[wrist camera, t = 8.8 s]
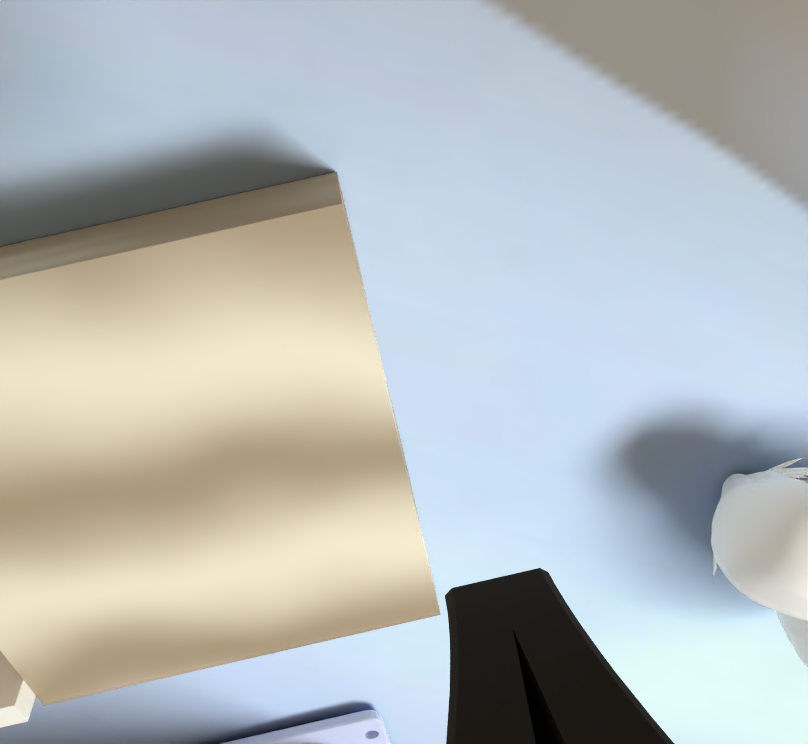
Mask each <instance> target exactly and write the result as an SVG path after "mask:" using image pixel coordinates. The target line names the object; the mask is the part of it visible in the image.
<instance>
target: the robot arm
mask: <svg viewBox="0 0 808 744" xmlns="http://www.w3.org/2000/svg"><path fill="white" fill-rule="evenodd" d="M445 599H446V605H447V611H448V620H449V632H450V697H449V712H448V727H447V742H446V744H674V743H673V742H672V741H671V739H670V738H669V737H668V736H667V735H666V733H665V732H664V731H663V730H662V729H661V728H660V726H659V725H658V724H657V723H656V722H655V721H654V719H653V718H652V717H651V716H650V715H649V713H648V712H647V711H646V710H645V708H644V707H643V706H642V705H641V703H640V702H639V701H638V700H637V698H636V697H635V696H634V695H633V693H632V692H631V691H630V690H629V688H628V687H627V686H626V685H625V684H624V682H623V681H622V680H621V679H620V677H619V676H618V675H617V674H616V672H615V671H614V670H613V668H612V667H611V666H610V664H609V663H608V662H607V660H606V659H605V658H604V656H603V655H602V654H601V652H600V651H599V650H598V648H597V647H596V645H595V644H594V643H593V641H592V640H591V639H590V637H589V636H588V634H587V633H586V632H585V630H584V629H583V627H582V626H581V624H580V623H579V622H578V620H577V619H576V617H575V616H574V614H573V613H572V611H571V610H570V608H569V606H568V605H567V603H566V602H565V600H564V599H563V597H562V595H561V594H560V592H559V590H558V589H557V587H556V585H555V584H554V582H553V580H552V578H551V576H550V575H549V573H548V572H547V571H545V570H543V569H541V568H538V569H534V570H529V571H525V572H521V573H516V574H512V575H507V576H503V577H499V578H494V579H490V580H486V581H481V582H477V583H472V584H468V585H464V586H459V587H455V588H452V589H451V590H450V591H449V592H448V593H447V594H446V595H445ZM221 744H391V741H390V739H389V736H388V733H387V730H386V727H385V724H384V721H383V718H382V716H381V714H380V713H379V712H377V711H375V710H364V711H360V712H356V713H351V714H347V715H343V716H338V717H334V718H330V719H325V720H321V721H317V722H312V723H308V724H303V725H299V726H295V727H290V728H286V729H282V730H277V731H273V732H269V733H264V734H260V735H256V736H251V737H247V738H243V739H238V740H234V741H230V742H225V743H221Z"/></svg>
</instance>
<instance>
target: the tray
mask: <svg viewBox="0 0 808 744" xmlns="http://www.w3.org/2000/svg"><path fill="white" fill-rule="evenodd" d="M35 697H36V695H35V694H34V693H33V692H32V690H31V689H30V688H29V686H28V685H27V684H26V683H25V681H24V680H23V679H22V677H21V676H20V675H19V674H18V672H17V671H16V670H15V669H14V667H13V666H12V665H11V663H10V662H9V661H8V660H7V658H6V657H5V656H4V655H3V653H2V652H1V651H0V728H1V727H5V726H10V725H14V724H18V723H23V722H27V721H28V720H29V717H30V713H31V710H32V707H33V704H34V700H35Z"/></svg>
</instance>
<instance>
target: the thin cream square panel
mask: <svg viewBox="0 0 808 744" xmlns="http://www.w3.org/2000/svg"><path fill="white" fill-rule="evenodd" d="M437 615H440V611H439V606H438V601H437V596H436V592H435V587H434V582H433V577H432V573H431V568H430V563H429V559H428V555H427V551H426V546H425V542H424V538H423V534H422V530H421V525H420V521H419V517H418V513H417V508H416V504H415V500H414V496H413V492H412V487H411V483H410V479H409V475H408V471H407V466H406V462H405V458H404V454H403V449H402V445H401V441H400V437H399V433H398V428H397V424H396V420H395V416H394V412H393V407H392V403H391V399H390V395H389V390H388V386H387V382H386V378H385V374H384V369H383V365H382V361H381V357H380V353H379V348H378V344H377V340H376V336H375V331H374V327H373V323H372V319H371V315H370V310H369V306H368V302H367V298H366V293H365V289H364V285H363V281H362V277H361V272H360V268H359V264H358V260H357V256H356V251H355V247H354V243H353V239H352V234H351V230H350V226H349V222H348V218H347V213H346V209H345V205H344V201H343V197H342V192H341V188H340V184H339V180H338V175H337V172H334V173H329V174H325V175H320V176H316V177H311V178H307V179H302V180H298V181H293V182H289V183H284V184H280V185H275V186H271V187H266V188H262V189H257V190H253V191H248V192H244V193H240V194H235V195H231V196H226V197H222V198H217V199H213V200H208V201H204V202H199V203H195V204H190V205H186V206H181V207H177V208H172V209H168V210H163V211H159V212H154V213H150V214H145V215H141V216H136V217H132V218H127V219H123V220H118V221H114V222H110V223H105V224H101V225H96V226H92V227H87V228H83V229H78V230H74V231H69V232H65V233H60V234H56V235H51V236H47V237H42V238H38V239H33V240H29V241H24V242H20V243H15V244H11V245H6V246H2V247H0V651H1V652H2V653H3V655H4V656H5V657H6V658H7V660H8V661H9V662H10V663H11V665H12V666H13V667H14V669H15V670H16V671H17V672H18V674H19V675H20V676H21V677H22V679H23V680H24V681H25V683H26V684H27V685H28V686H29V688H30V689H31V690H32V692H33V693H34V694H35V695H36V697H37V698H38V699H39V700H40V702H41V703H42V704H43V706H44V705H48V704H53V703H57V702H61V701H66V700H70V699H74V698H79V697H83V696H88V695H92V694H96V693H101V692H105V691H109V690H114V689H118V688H123V687H127V686H131V685H136V684H140V683H144V682H149V681H153V680H157V679H162V678H166V677H171V676H175V675H179V674H184V673H188V672H192V671H197V670H201V669H205V668H210V667H214V666H219V665H223V664H227V663H232V662H236V661H240V660H245V659H249V658H253V657H258V656H262V655H267V654H271V653H275V652H280V651H284V650H288V649H293V648H297V647H301V646H306V645H310V644H315V643H319V642H323V641H328V640H332V639H336V638H341V637H345V636H350V635H354V634H358V633H363V632H367V631H371V630H376V629H380V628H384V627H389V626H393V625H398V624H402V623H406V622H411V621H415V620H419V619H424V618H428V617H432V616H437Z"/></svg>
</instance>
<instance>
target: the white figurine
mask: <svg viewBox="0 0 808 744" xmlns="http://www.w3.org/2000/svg"><path fill="white" fill-rule="evenodd" d="M805 458H807V457H805ZM800 459H802V458H798V459H796V460H791V461H788V462H785V463H782V464H780V465H778V466H775V467H773V468H771V469H769V470H767V471H764V472H757V473H753V474H748V475H744V474H733V475H731V476H729V477H728V478H727V479H726V480H725V482H724V484H723V486H722V494H721V499H720V501H719V503H718V506H717V508H716V511H715V513H714V517H713V521H712V536H711V546H712V550H713V553H714V556H713V577H714V576H715V571H716V570H717V563H718V565H719V566H720V568H721V570H722V571H723V573H724V574H725V576H726V577H727V578H728V580H729V581H730V582H731V583H732V584H733V585H734V586H735V587H736V588H737V589H738V590H739V591H740V592H741V593H743V594H744V595H745V596H747V597H748V598H750V599H751V600H753V601H755V602H757V603H759V604H761V605H763V606H766V607H768V608H771V609H774V610H776V612H777V615H778V617H779V619H780V622H781V624H782V626H783V628H784V630H785V632H786V634H787V637H788V638H789V640H790V642H791V643H792V645H793V647H794V649H795V650H796V652H797V654H798V656H799V657H800V659H801V660H802V661H803V663H804V664H805V665H806V666H807V667H808V483H805V482H808V481H804V480H800V479H799V478H801V477H802V478H804V477H805V476H804V475H808V468H807V467H804V468H785V467H787V466H789V465H791V464H793V463H795V462H797V461H798V460H800ZM782 468H784V469H782ZM797 476H798V477H797ZM796 478H798V479H796ZM805 478H807V477H805ZM713 583H714V582H713Z"/></svg>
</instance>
